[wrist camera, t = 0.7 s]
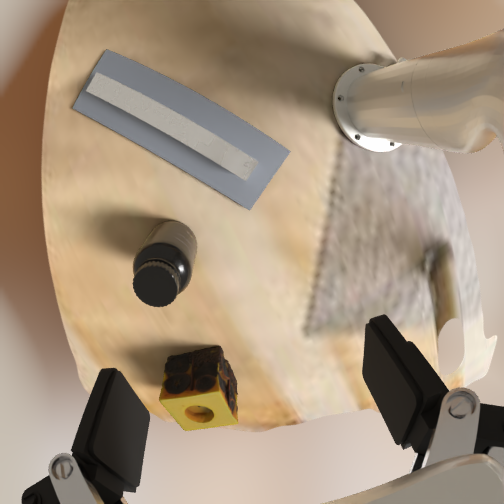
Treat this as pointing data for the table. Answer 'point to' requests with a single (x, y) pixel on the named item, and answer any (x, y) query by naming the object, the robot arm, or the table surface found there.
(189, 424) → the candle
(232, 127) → the board
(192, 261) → the supplement bottle
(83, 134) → the table surface
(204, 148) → the metal bar
